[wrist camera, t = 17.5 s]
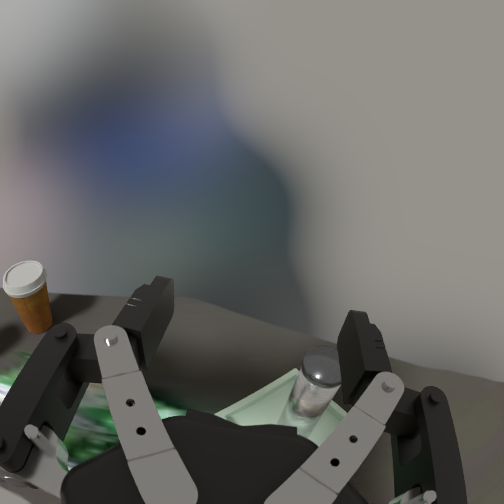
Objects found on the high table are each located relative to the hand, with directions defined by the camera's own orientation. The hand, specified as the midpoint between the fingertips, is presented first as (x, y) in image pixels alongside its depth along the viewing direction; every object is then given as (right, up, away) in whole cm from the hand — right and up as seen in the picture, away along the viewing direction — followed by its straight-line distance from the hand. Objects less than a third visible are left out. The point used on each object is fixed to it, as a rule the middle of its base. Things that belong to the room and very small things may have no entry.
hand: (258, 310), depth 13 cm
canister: (+5, -23, +24) cm, 34 cm away
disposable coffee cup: (-43, -12, +34) cm, 56 cm away
